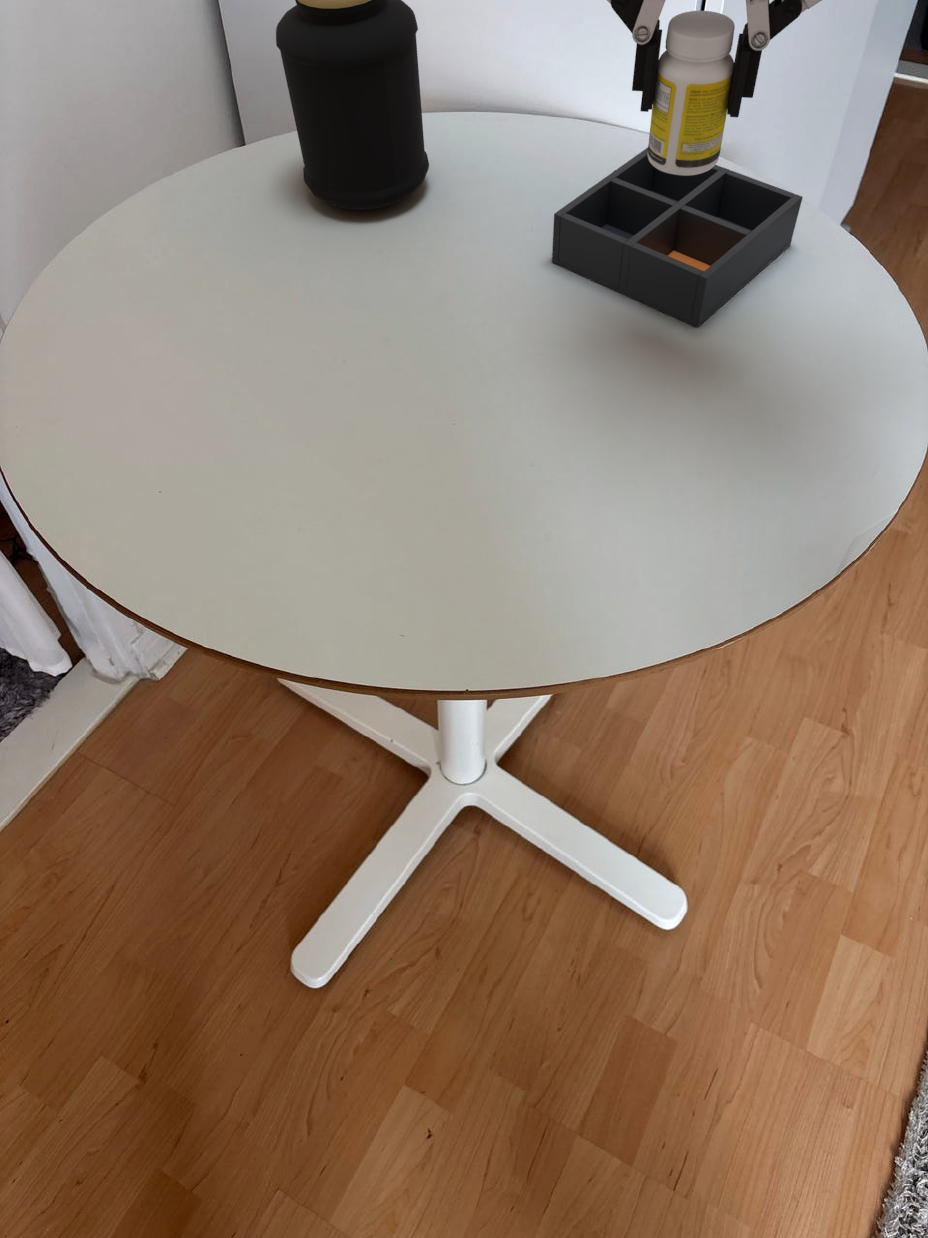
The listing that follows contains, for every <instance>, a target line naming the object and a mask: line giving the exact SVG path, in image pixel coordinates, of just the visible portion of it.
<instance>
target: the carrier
mask: <svg viewBox="0 0 928 1238" xmlns="http://www.w3.org/2000/svg"><path fill="white" fill-rule="evenodd" d="M803 197H804V196H802V195H800V194H795V193H794V192H791V191H788V190H785V189H783V188H779V187H777V186H775V185H772V184H770V183H766V182H765V181H761V180H758V179H756V178H753V177H750V176H748V175H745V174H742V173H740V172H736V171H734V170H731V169H729V168H726V167H722V166H721V165H720V166H719V165H718V164H716V165H715V166H714V167H713V168H711V169H710V170H708V171H706V172H704V173H701V174H697V175H689V176H684V175H675V174H669V173H666V172H663V171H660V170H658V169H657V168H655V167H654V166H653V165H652V164H651V163H650V161H649V159H648V147H646V148H645V149H643V150H642V151H640V152H639V153H638V154H636V155H635V156H634V157H632V158H631V159H629V160H628V161H626V162H625V163H624V164H622V165H620V166H619V167H618V168H617V169H615V170H614V171H612V172H611V173H609V174H608V175H606V176H605V177H604V178H602V179H601V180H600V181H598V182H597V183H595V184H594V185H592V186H591V187H590V188H588V189H587V190H586V191H584V192H583V193H581V194H580V195H578V196H577V197H576V198H574V199H573V200H572V201H570V202H568V203H567V204H566V205H564V206H563V207H562V208H560V209H559V210H557V211H556V212H555V213H554V214H553V227H552V228H553V231H552V251H551V253H552V254H551V263H553V264H555V265H558V266H560V267H562V268H564V269H566V270H568V271H571V272H573V273H575V274H577V275H580V276H582V277H584V278H587V279H589V280H591V281H593V282H595V283H598V284H599V285H602V286H604V287H606V288H608V289H611V290H613V291H615V292H618V293H620V294H622V295H623V296H626V297H629V298H631V299H633V300H635V301H638V302H640V303H642V304H644V305H646V306H648V307H651V308H653V309H655V310H657V311H660V312H662V313H664V314H666V315H668V316H671V317H673V318H675V319H678V320H680V321H682V322H685V324H688V325H691V326H693V327H694V328H699V327H700V326H701V325H702V324H703V323H705V321H706V320H708V319H709V318H710V317H711V316H712V315H714V313H716V312H717V311H718V310H719V309H720V308H721V307H722V306H724V305H725V304H726V303H728V301H730V299H731V298H733V297H734V296H735V295H736V294H738V293H739V291H741V290H742V289H743V288H744V287H745V286H747V284H749V283H750V282H751V281H752V280H753V279H754V278H755V277H757V276H758V275H759V274H760V273H761V272H762V271H763V270H764V269H766V268H767V267H768V266H769V265H770V264H771V263H773V262H774V260H775V259H777V258H778V257H779V256H780V255H781V254H782V253H783V252H785V251H786V250H787V249H788V248H789V247H790V246H791V244H792V240H793V236H794V232H795V228H796V225H797V220H798V217H799V213H800V209H801V205H802V201H803Z"/></svg>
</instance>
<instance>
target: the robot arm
mask: <svg viewBox="0 0 928 1238" xmlns="http://www.w3.org/2000/svg"><path fill="white" fill-rule="evenodd" d="M606 1H607V2H608V3H609V4H610V6H611V8H612V10H613V12H614V13H615V14H616V15H617V16H618V18H619V19H620V20H621V21H622V23H623V25H625V26H626V28H627V29H628V30H629V31H630V33H631V35H632V36H631V37H632V40H633V41H634V42H635V43H636V44H635V45H636V47H635V56H634V66H633V75H632V86H631V91H633V92H641V101H640V109H639V111H640V112H643V113H648V112H649V110H651V111H652V107H653V98H654V90H655V82H656V73H657V65H658V61H659V58H660V53H661V43H662V38H663V37H662V36H663V29H661V28H660V25H661V20H660V16H661V13H662V11H663V9H664V6H665V3H666V0H606ZM822 1H823V0H772V1H771V2H770V0H745V9H746V23H745V24H744V26H743V27H744V28H743V30H742V33H738V40H737V45H736V49H735V50H736V51H735V56H734V60H733V61H734V74H733V79H732V85H731V91H730V97H729V102H728V109H727V115H728V116H729V118H739V116H740V111H741V105H742V100H743V98H746V99H753V98H754V94H755V89H756V85H757V79H758V73H759V70H760V69H759V68H760V63H761V59H762V58H761V57H762V53H763V50H765V49H766V48H767V47H768V46H769V44H770V41H771V40H773V39H774V38H775V37H776V36H777V35H778V34H780V33H781V32H782V31H783V30H784V29H786V28H787V27H788V26H789V25H791V24H792V23H793V22H794V21H796V20H797V19H798V18H799V17H801V14H802V13H804V12H805V11H806V10H809V9H811V8H812V7H814V6H816V5H817V4H819V3H820V2H822Z"/></svg>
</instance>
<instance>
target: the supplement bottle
mask: <svg viewBox="0 0 928 1238" xmlns="http://www.w3.org/2000/svg"><path fill="white" fill-rule="evenodd" d="M735 30H736V29H735V21H733V19H732V18H731V17H730V16H728V15H725V14H723V13H720V12H715V11H711V10H691V11H685V12H681V13H679V14H676V15H675V16H672V17H671V19H670V20H669V22H668V25H667V31H666V37H665V46H664V47H665V51H663V53H662V54H661V55H660V56H659V61H658V65H657V73H656V82H655V90H654V98H653V105H652V110H651V118H650V126H649V135H648V144H647V148H648V159H649V161H650V163H651V164H652V165H653V166H654V167H655V168H657V169H658V170H660V171H663V172H666V173H669V174H675V175H684V176H689V175H697V174H701V173H704V172H706V171H708V170H710V169H711V168H713V167H714V166H715V165H717V163H718V161H719V158H720V156H721V155H720V154H721V150H722V143H723V136H724V131H725V126H726V120H727V115H728V114H727V109H728V102H729V97H730V91H731V85H732V79H733V74H734V61H735V60H734V58H733V56H732V55H731V54H730V53H731V52H732V48H733V44H734V35H735Z"/></svg>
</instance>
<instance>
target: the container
mask: <svg viewBox="0 0 928 1238" xmlns="http://www.w3.org/2000/svg"><path fill="white" fill-rule="evenodd" d="M294 1H295V4H296V5H294V6H293V7H291V8H290V9H289V10H287V11H286V12H285V13H284V15H282V17H281V19H280V20H279V21H278V23H277V25H276V28H275V44H276V45H275V46H276V47H277V49H279V51H280V56H281V62H282V66H283V70H284V71H283V72H284V75H285V80H286V85H287V90H288V95H289V100H290V104H291V110H292V114H293V119H294V123H295V127H296V131H297V132H296V133H297V138H298V143H299V146H300V151H301V156H302V162H303V169H302V173H303V182H304V184H305V185H306V187H307V188H308V189H309V191H310V192H311V193H312V194H313V196H314V197H315V198H317V199H318V200H321V201H322V202H324V203H326V204H328V205H330V206H332V207H336V208H342V209H346V210H359V211H364V210H365V211H366V210H372V209H381V208H384V207H387V206H391V205H393V204H396V203H398V202H400V201H402V200H403V199H405V198H407V197H409V196H411V195H412V194H413V193H414V192H415V191H416V190H417V189H418V188H420V187H421V185H422V184H423V183H424V181H425V178H426V177H427V174H428V171H429V169H430V162H429V157H428V154H427V152H426V151H425V150H426V149H425V139H424V124H423V112H422V111H423V109H422V97H421V85H420V73H419V71H420V69H419V56H418V44H417V32H418V30H419V27H418V23H417V19H416V14H415V12H414V10H413V9H412V8H411V7H410V6H409V5H408V3H405V1H403V0H294Z"/></svg>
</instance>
